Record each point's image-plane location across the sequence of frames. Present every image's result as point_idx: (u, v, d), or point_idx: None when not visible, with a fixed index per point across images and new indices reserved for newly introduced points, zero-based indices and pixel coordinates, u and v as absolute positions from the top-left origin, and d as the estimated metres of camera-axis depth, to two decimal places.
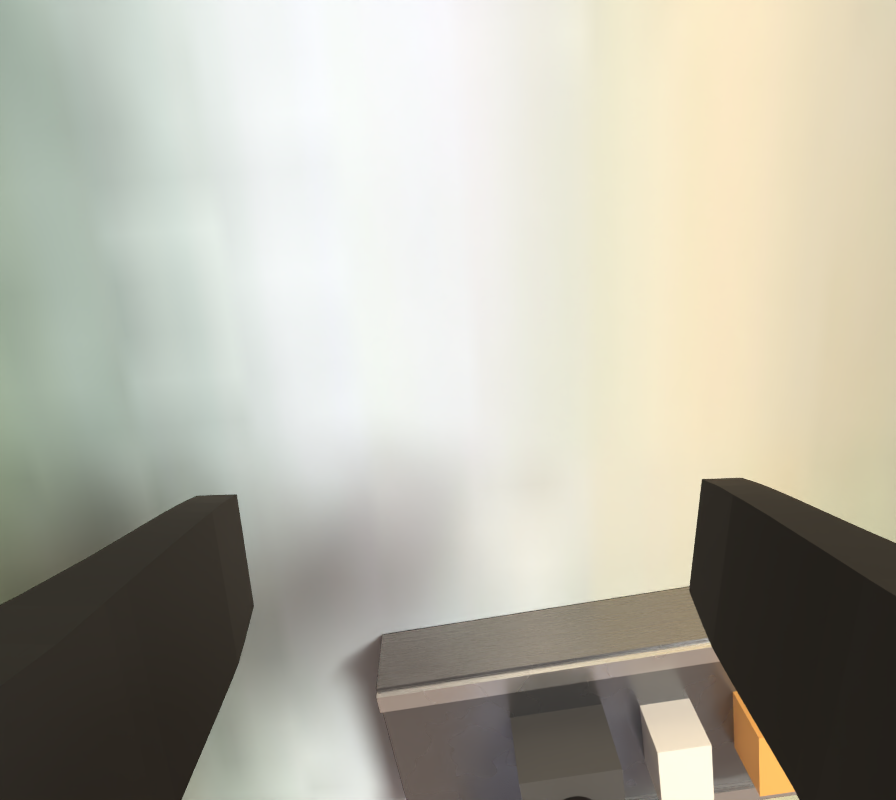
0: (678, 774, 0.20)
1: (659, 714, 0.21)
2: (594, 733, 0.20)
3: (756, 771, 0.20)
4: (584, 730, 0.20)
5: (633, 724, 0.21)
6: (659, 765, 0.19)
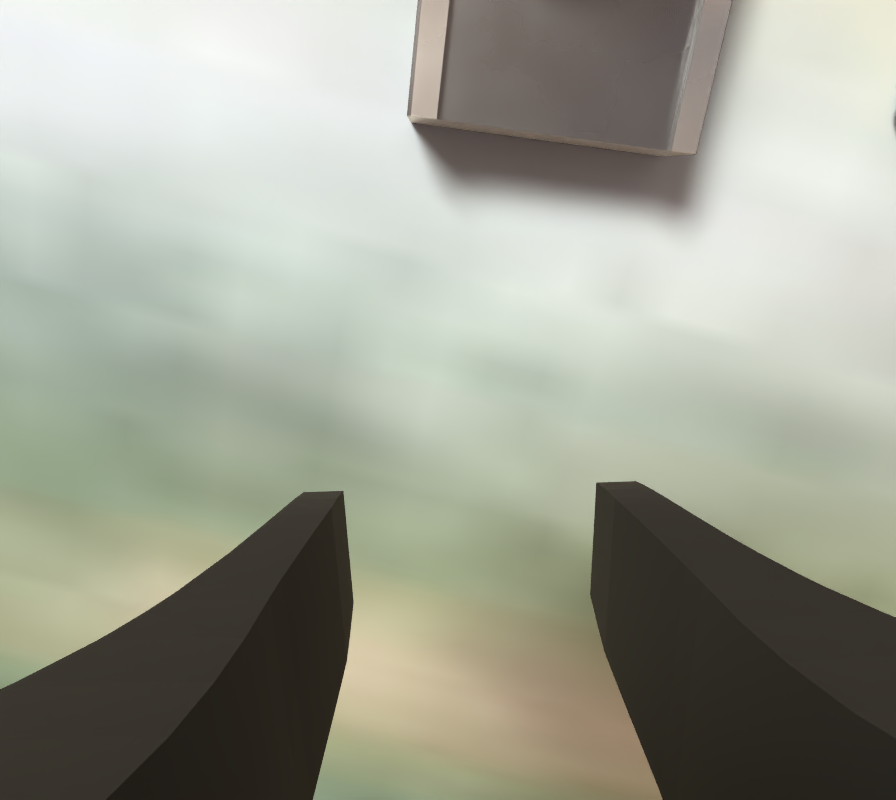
0: None
1: None
2: None
3: None
4: None
5: None
6: None
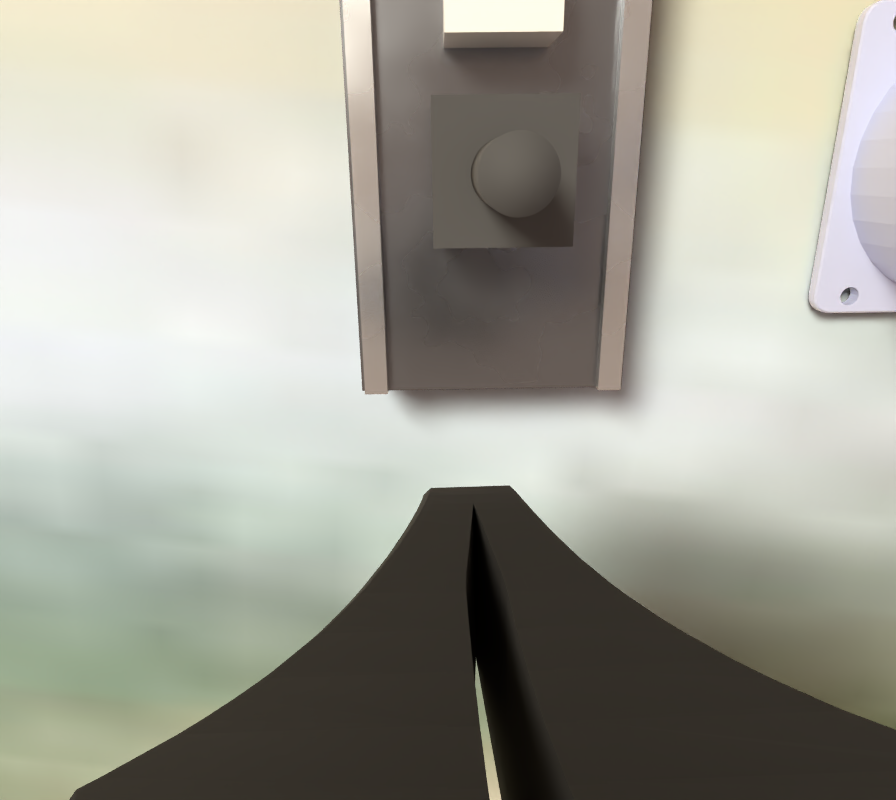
0: None
1: (443, 19, 0.14)
2: None
3: None
4: None
5: (476, 60, 0.15)
6: (469, 30, 0.13)
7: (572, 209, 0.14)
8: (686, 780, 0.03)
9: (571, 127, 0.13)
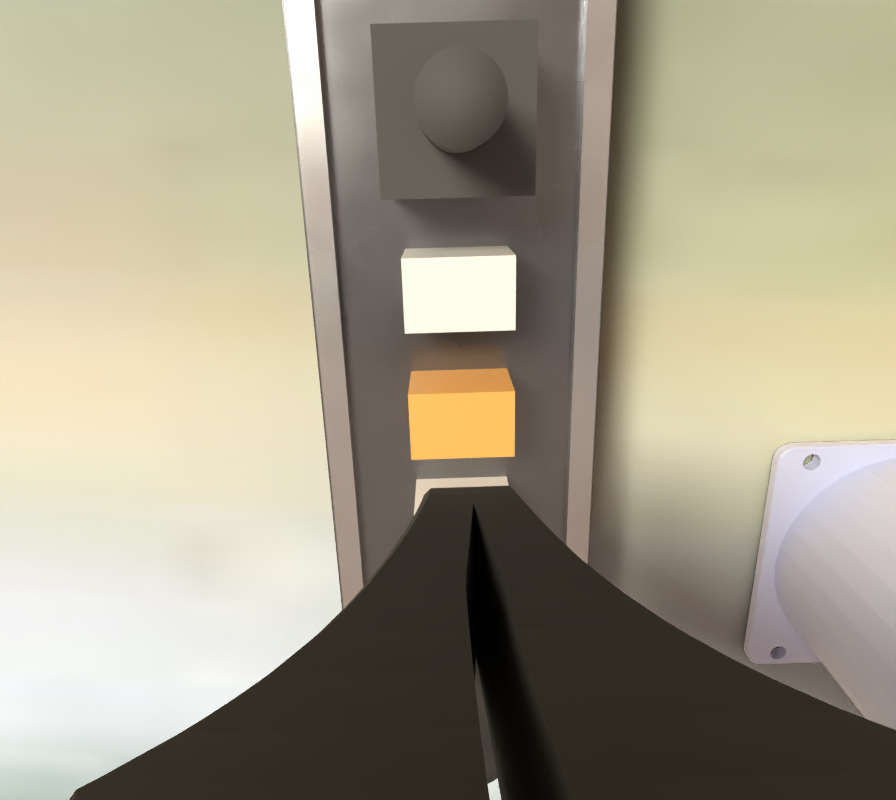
0: None
1: None
2: None
3: (478, 454, 0.15)
4: None
5: None
6: None
7: None
8: (687, 780, 0.03)
9: None
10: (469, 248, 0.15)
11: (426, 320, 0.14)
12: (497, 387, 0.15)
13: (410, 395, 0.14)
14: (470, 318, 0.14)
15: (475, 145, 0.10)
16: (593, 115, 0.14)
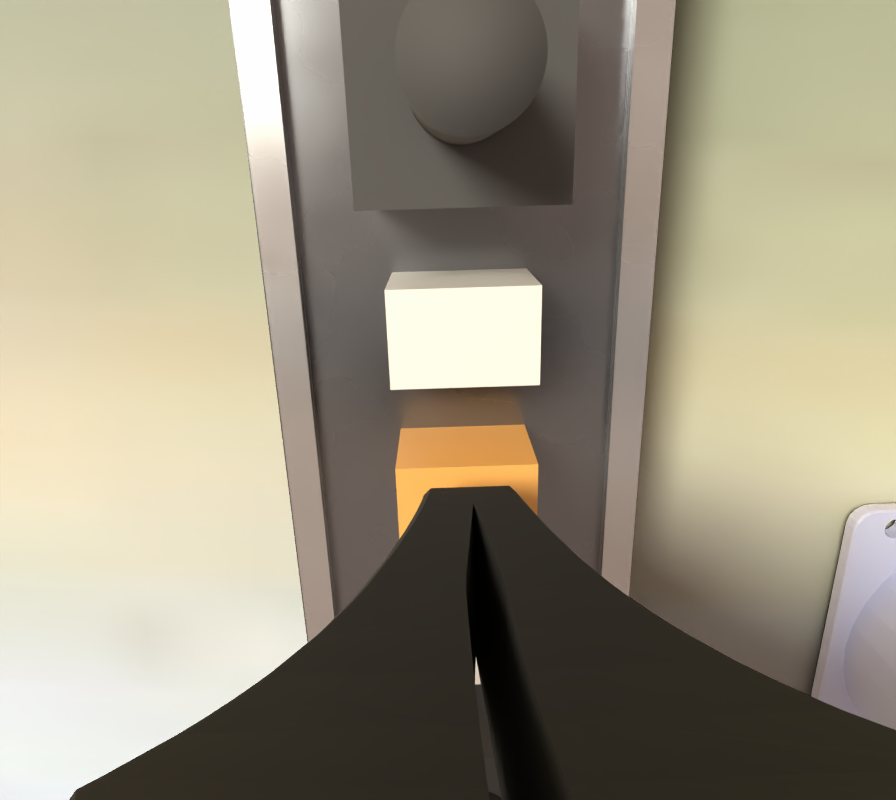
0: None
1: None
2: None
3: None
4: None
5: None
6: None
7: None
8: (686, 780, 0.03)
9: None
10: (477, 272, 0.11)
11: (419, 372, 0.10)
12: (514, 457, 0.11)
13: (398, 470, 0.11)
14: (479, 369, 0.10)
15: (494, 129, 0.06)
16: (645, 94, 0.10)
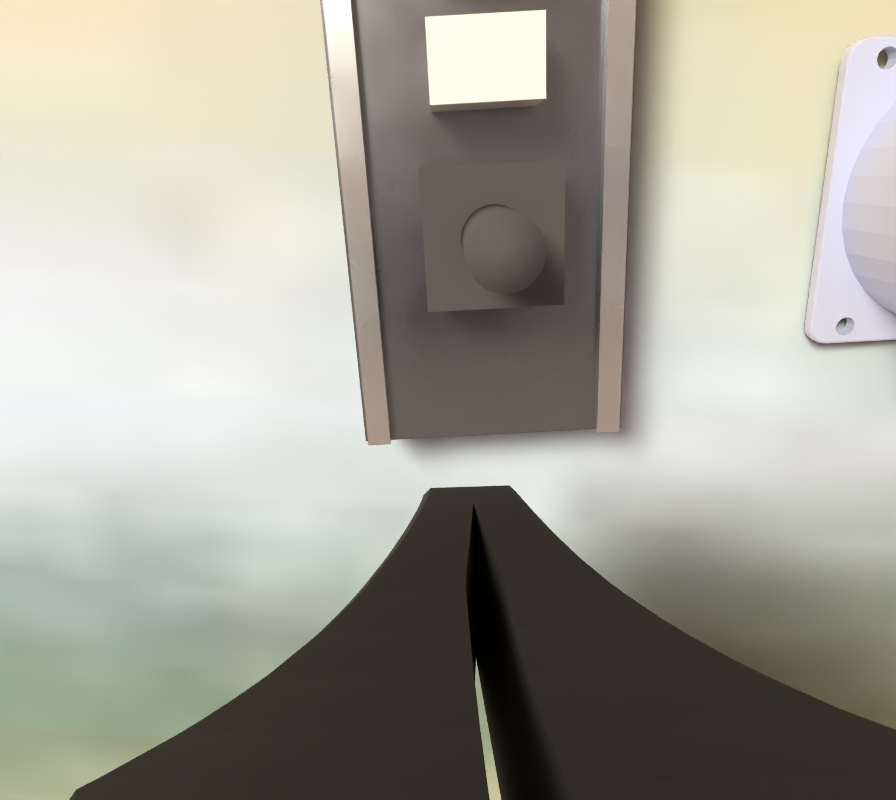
0: (477, 71, 0.13)
1: None
2: None
3: None
4: None
5: (463, 122, 0.15)
6: (454, 102, 0.13)
7: (562, 270, 0.14)
8: (686, 780, 0.03)
9: (557, 192, 0.13)
10: None
11: None
12: None
13: None
14: None
15: None
16: None
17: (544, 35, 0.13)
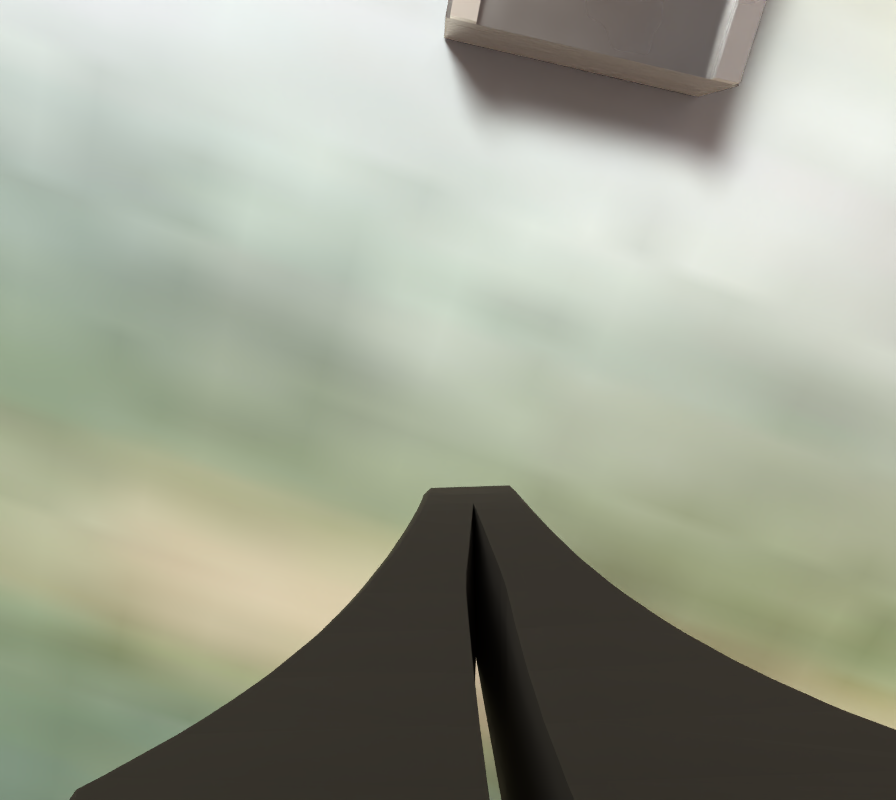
0: None
1: None
2: None
3: None
4: None
5: None
6: None
7: None
8: (686, 780, 0.03)
9: None
10: None
11: None
12: None
13: None
14: None
15: None
16: None
17: None
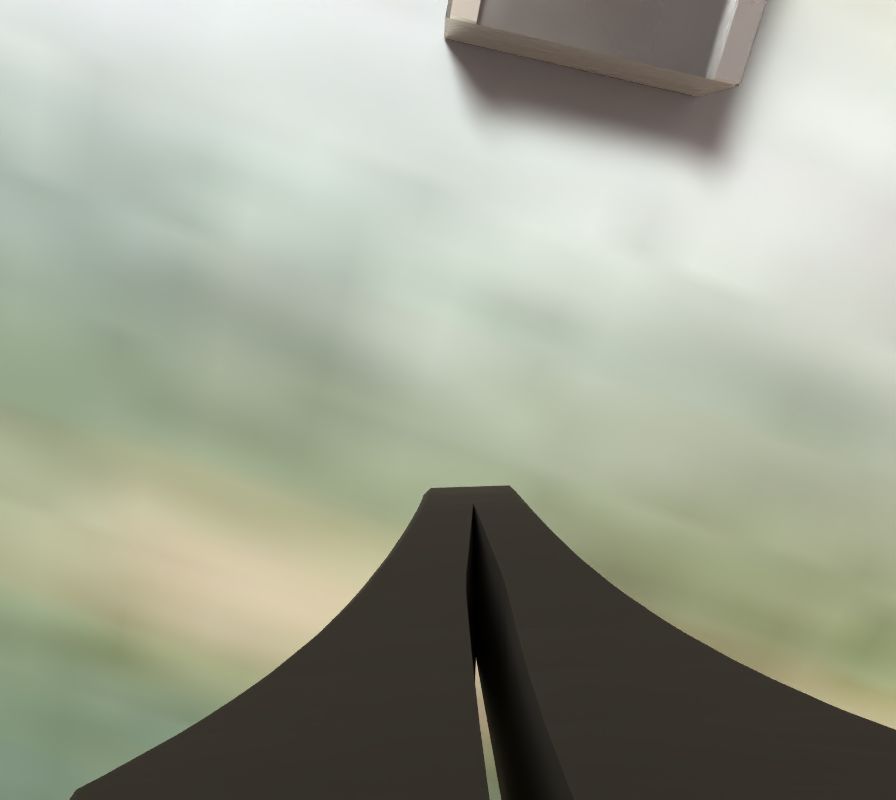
0: None
1: None
2: None
3: None
4: None
5: None
6: None
7: None
8: (686, 780, 0.03)
9: None
10: None
11: None
12: None
13: None
14: None
15: None
16: None
17: None
